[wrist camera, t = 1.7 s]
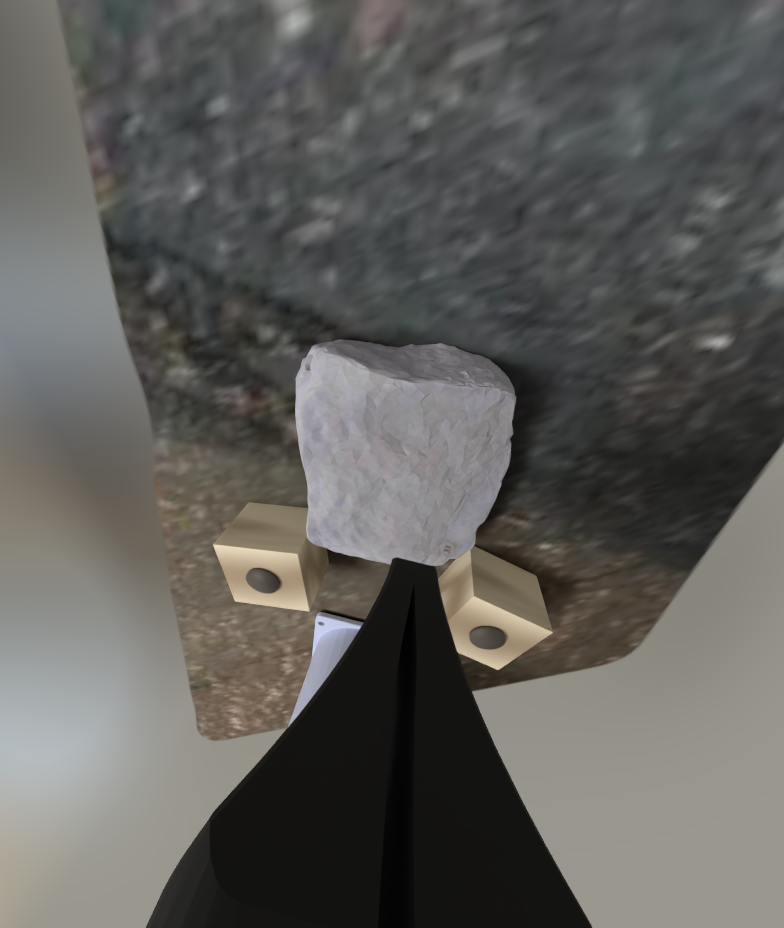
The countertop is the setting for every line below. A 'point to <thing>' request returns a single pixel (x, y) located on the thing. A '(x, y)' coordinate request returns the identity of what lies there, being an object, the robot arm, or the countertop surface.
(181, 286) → the countertop surface
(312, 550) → the beech block
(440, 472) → the stone block
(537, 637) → the beech block
